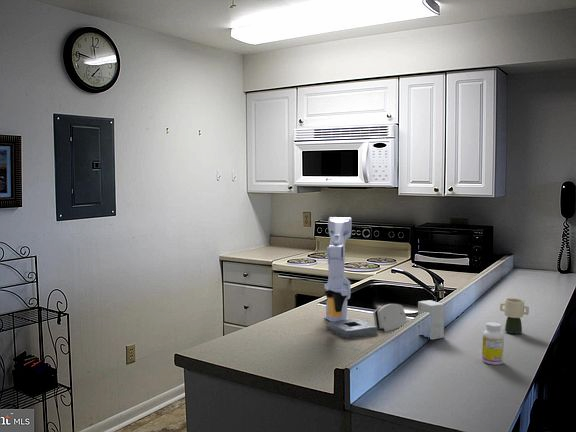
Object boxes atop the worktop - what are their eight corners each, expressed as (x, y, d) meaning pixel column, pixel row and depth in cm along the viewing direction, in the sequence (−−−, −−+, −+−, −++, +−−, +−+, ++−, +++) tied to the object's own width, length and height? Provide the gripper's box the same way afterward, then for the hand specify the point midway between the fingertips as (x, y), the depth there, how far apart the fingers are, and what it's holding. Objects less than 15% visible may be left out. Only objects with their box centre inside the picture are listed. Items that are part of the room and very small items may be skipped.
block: (327, 315, 218) (327, 297, 217) (336, 313, 219) (336, 296, 219) (332, 317, 214) (332, 299, 213) (341, 316, 216) (341, 298, 215)
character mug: (530, 333, 216) (531, 300, 215) (525, 337, 211) (526, 303, 210) (502, 328, 223) (503, 296, 222) (496, 332, 217) (497, 299, 216)
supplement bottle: (486, 357, 188) (487, 320, 187) (506, 361, 184) (507, 323, 183) (479, 362, 183) (480, 324, 182) (499, 366, 179) (500, 327, 178)
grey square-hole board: (327, 329, 221) (327, 322, 221) (357, 325, 228) (357, 318, 227) (346, 338, 209) (346, 331, 209) (377, 334, 215) (377, 326, 215)
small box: (444, 337, 210) (444, 304, 209) (430, 339, 208) (431, 305, 207) (429, 332, 218) (430, 299, 217) (417, 334, 215) (417, 301, 214)
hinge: (385, 331, 218) (378, 306, 220) (376, 333, 222) (370, 308, 224) (411, 324, 229) (404, 300, 231) (402, 325, 233) (396, 302, 234)
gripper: (317, 273, 220) (317, 307, 222) (336, 280, 207) (335, 315, 208) (333, 272, 223) (333, 305, 224) (352, 278, 210) (351, 313, 211)
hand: (335, 310), depth 217 cm, fingers closed on block, 4 cm apart
